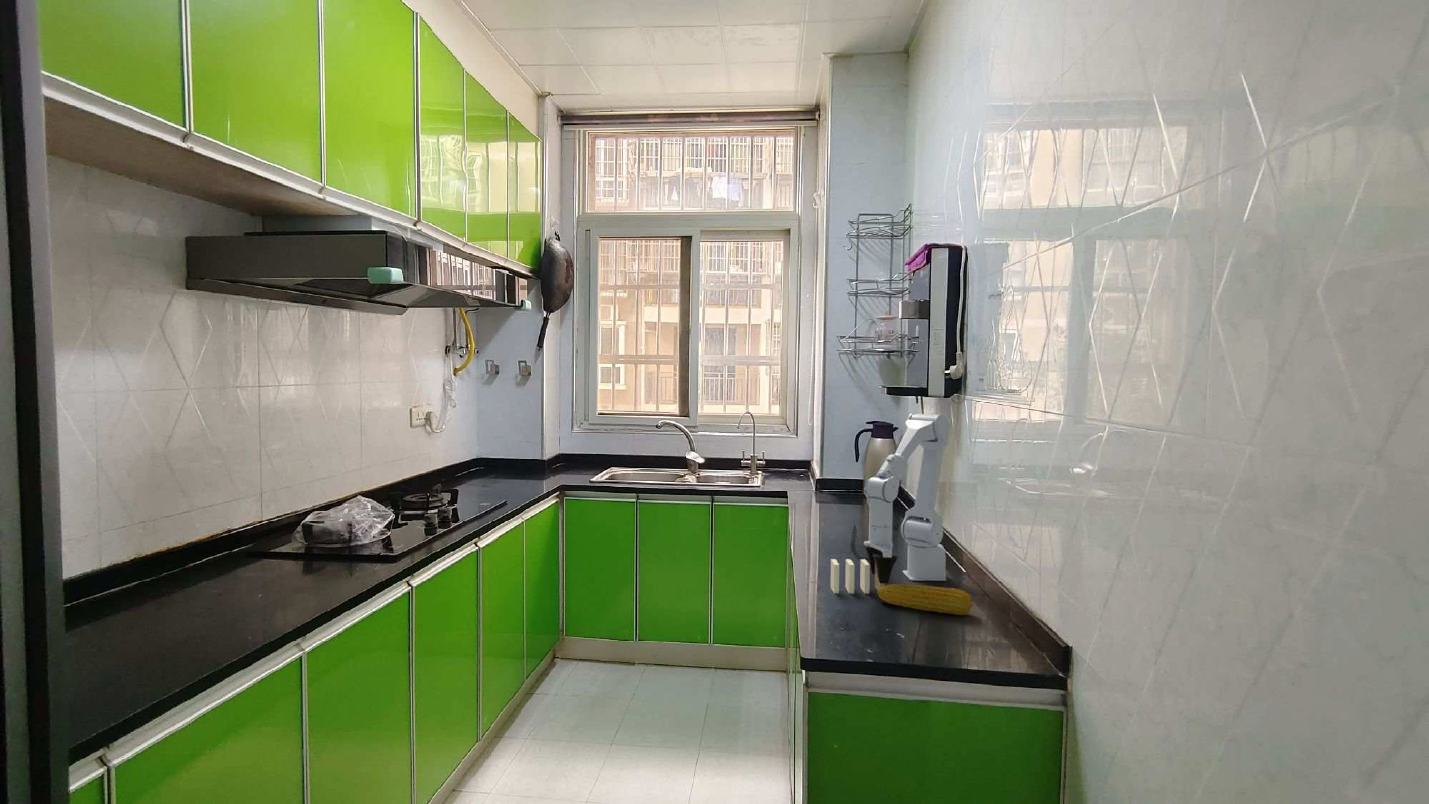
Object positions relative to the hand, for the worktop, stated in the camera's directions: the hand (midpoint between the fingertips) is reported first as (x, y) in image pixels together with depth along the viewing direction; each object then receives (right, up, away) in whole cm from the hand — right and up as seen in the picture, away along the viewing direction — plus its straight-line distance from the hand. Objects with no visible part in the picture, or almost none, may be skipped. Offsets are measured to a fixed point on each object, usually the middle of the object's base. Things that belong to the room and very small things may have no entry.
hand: (879, 578), depth 168 cm
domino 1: (-11, -3, 0) cm, 12 cm away
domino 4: (0, -3, 0) cm, 3 cm away
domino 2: (-8, -3, 0) cm, 8 cm away
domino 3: (-4, -3, 0) cm, 5 cm away
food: (+7, -4, -14) cm, 16 cm away
